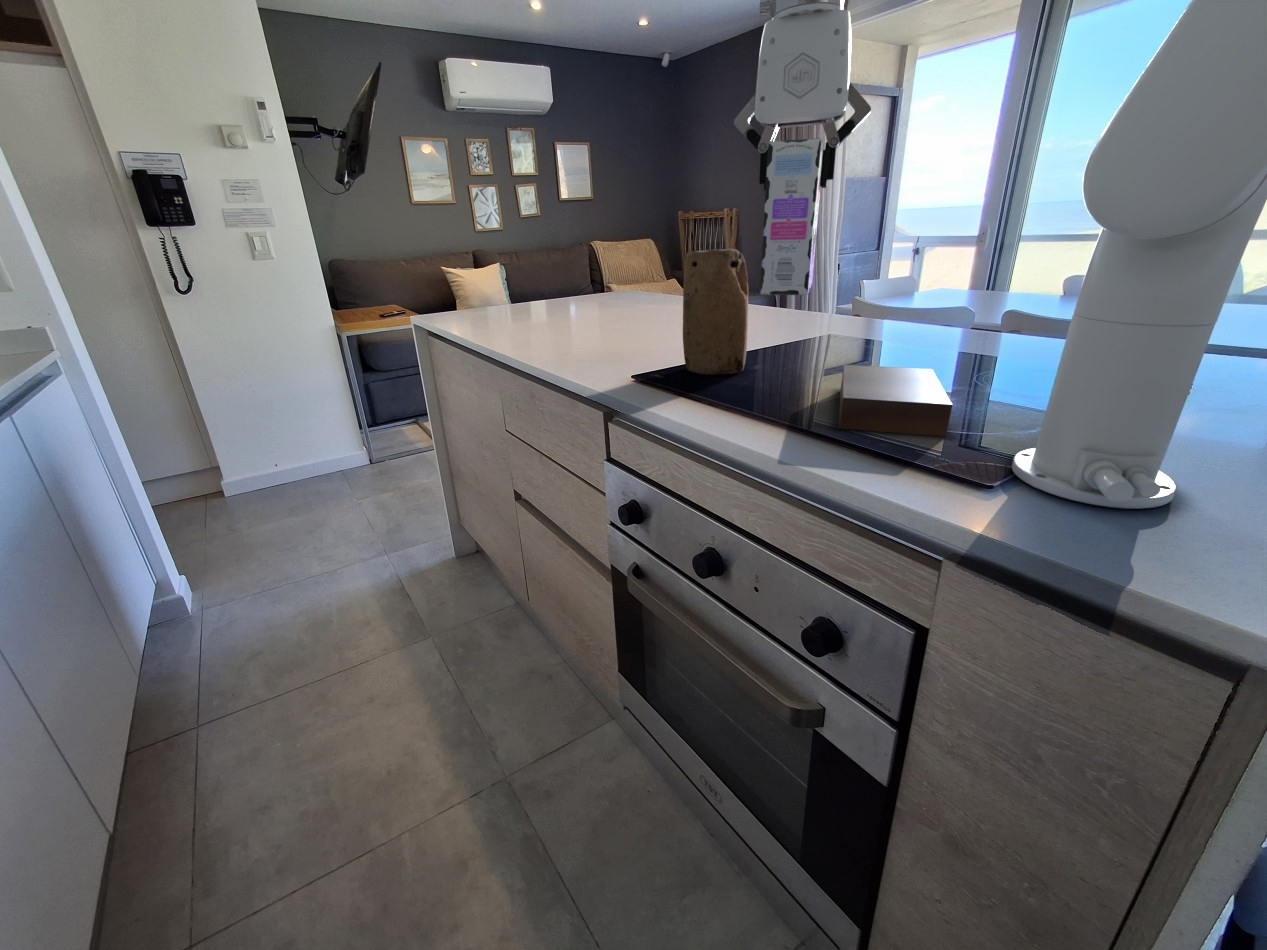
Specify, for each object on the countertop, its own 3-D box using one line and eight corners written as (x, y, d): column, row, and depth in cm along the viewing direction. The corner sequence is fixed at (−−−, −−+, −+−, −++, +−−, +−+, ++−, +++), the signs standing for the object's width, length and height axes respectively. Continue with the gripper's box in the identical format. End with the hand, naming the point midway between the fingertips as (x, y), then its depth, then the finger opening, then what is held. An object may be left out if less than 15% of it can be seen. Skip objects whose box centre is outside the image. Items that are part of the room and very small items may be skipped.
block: (679, 374, 98) (680, 250, 90) (689, 364, 105) (691, 248, 97) (742, 378, 95) (749, 249, 87) (748, 367, 102) (755, 247, 93)
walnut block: (945, 437, 68) (952, 404, 66) (839, 428, 71) (843, 397, 70) (927, 395, 83) (932, 368, 81) (840, 390, 87) (843, 364, 85)
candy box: (808, 296, 67) (822, 135, 61) (758, 296, 69) (766, 139, 62) (813, 285, 79) (825, 150, 73) (770, 285, 81) (778, 153, 74)
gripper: (723, 6, 62) (719, 191, 69) (896, -21, 56) (873, 182, 64) (734, 27, 68) (730, 194, 75) (890, 4, 63) (869, 186, 70)
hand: (795, 187), depth 69 cm, fingers closed on candy box, 5 cm apart
